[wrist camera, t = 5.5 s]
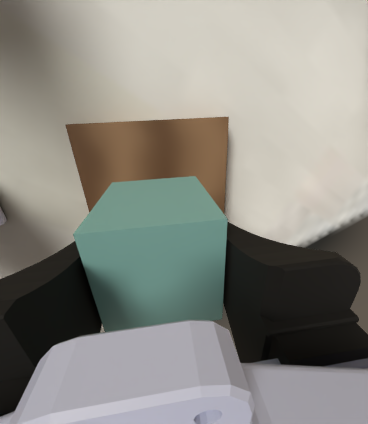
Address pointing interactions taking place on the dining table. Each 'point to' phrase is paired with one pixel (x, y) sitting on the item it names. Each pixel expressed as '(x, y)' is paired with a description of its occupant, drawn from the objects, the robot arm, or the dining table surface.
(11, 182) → the dining table surface
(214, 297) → the teal block
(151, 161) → the walnut base
